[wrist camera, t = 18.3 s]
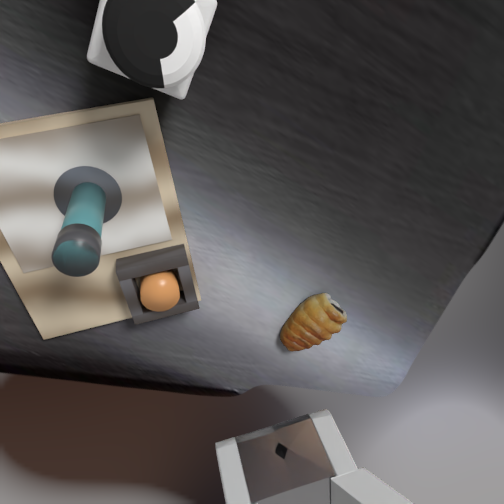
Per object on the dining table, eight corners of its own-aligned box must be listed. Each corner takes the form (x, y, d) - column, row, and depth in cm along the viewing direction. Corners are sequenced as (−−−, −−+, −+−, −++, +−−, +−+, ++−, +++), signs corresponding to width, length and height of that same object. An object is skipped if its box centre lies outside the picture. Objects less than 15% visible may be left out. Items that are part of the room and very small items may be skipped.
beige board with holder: (-64, 134, 34) (-82, 146, 31) (153, 97, 36) (154, 105, 33) (45, 333, 46) (39, 355, 43) (200, 295, 49) (204, 313, 46)
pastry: (297, 349, 58) (306, 369, 55) (266, 329, 55) (274, 349, 52) (345, 307, 56) (358, 324, 53) (317, 283, 53) (328, 301, 50)
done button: (135, 269, 43) (135, 286, 41) (172, 261, 44) (175, 276, 41) (145, 298, 45) (146, 315, 43) (180, 289, 46) (183, 306, 43)
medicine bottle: (93, 51, 33) (77, 71, 23) (116, -46, 31) (109, -69, 21) (175, 86, 36) (192, 116, 26) (204, 0, 33) (234, -1, 24)
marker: (65, 185, 37) (44, 244, 28) (101, 178, 37) (91, 234, 28) (77, 215, 39) (61, 281, 30) (111, 208, 39) (105, 271, 30)
